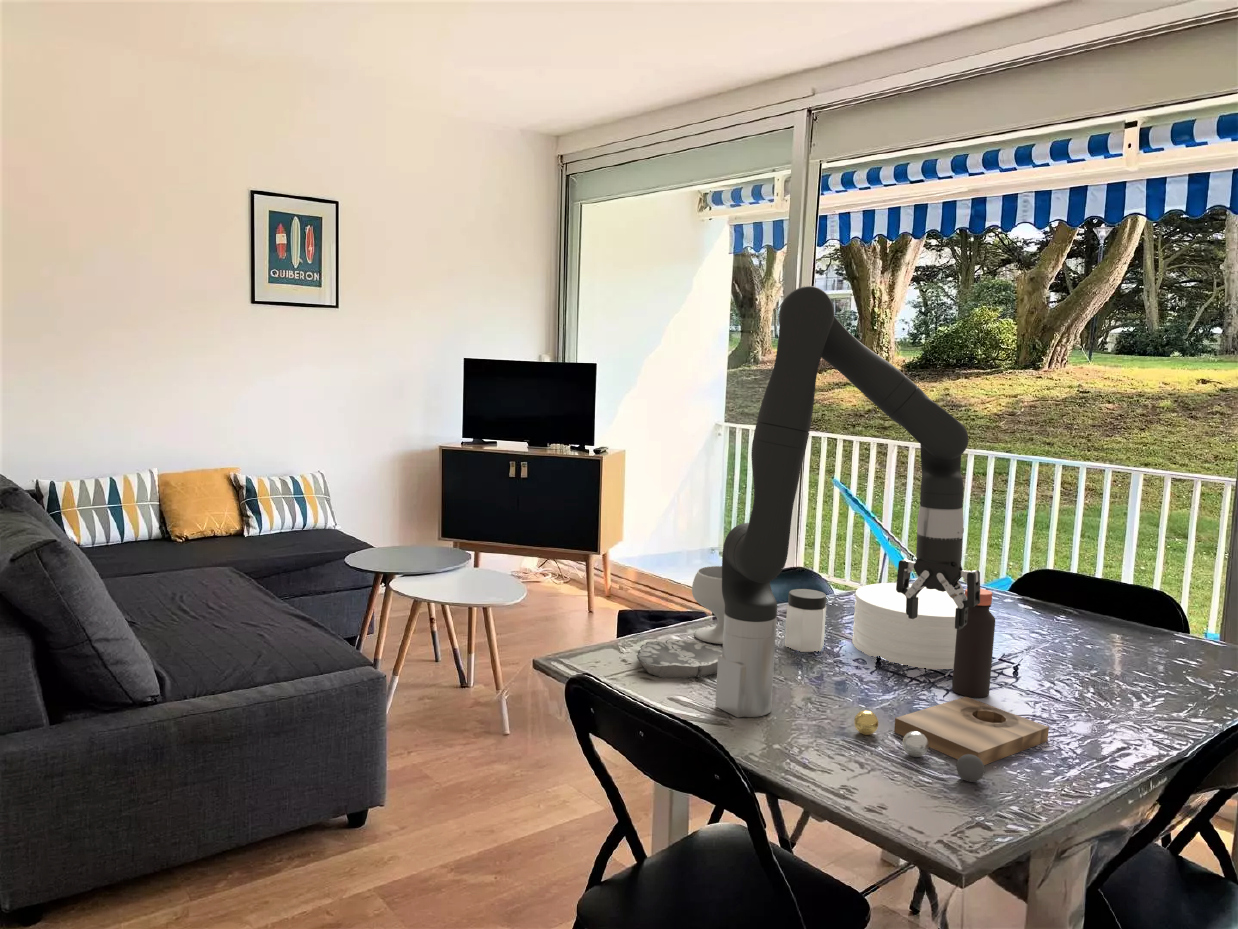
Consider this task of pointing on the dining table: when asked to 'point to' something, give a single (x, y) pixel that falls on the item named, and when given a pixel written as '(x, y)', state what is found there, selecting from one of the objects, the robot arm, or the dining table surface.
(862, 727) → the brass ball
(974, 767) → the rubber ball
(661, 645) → the brain slice
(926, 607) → the plate stack
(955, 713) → the board
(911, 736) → the steel ball
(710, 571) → the chalice
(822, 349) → the robot arm
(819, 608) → the jar
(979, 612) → the bottle
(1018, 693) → the dining table surface
